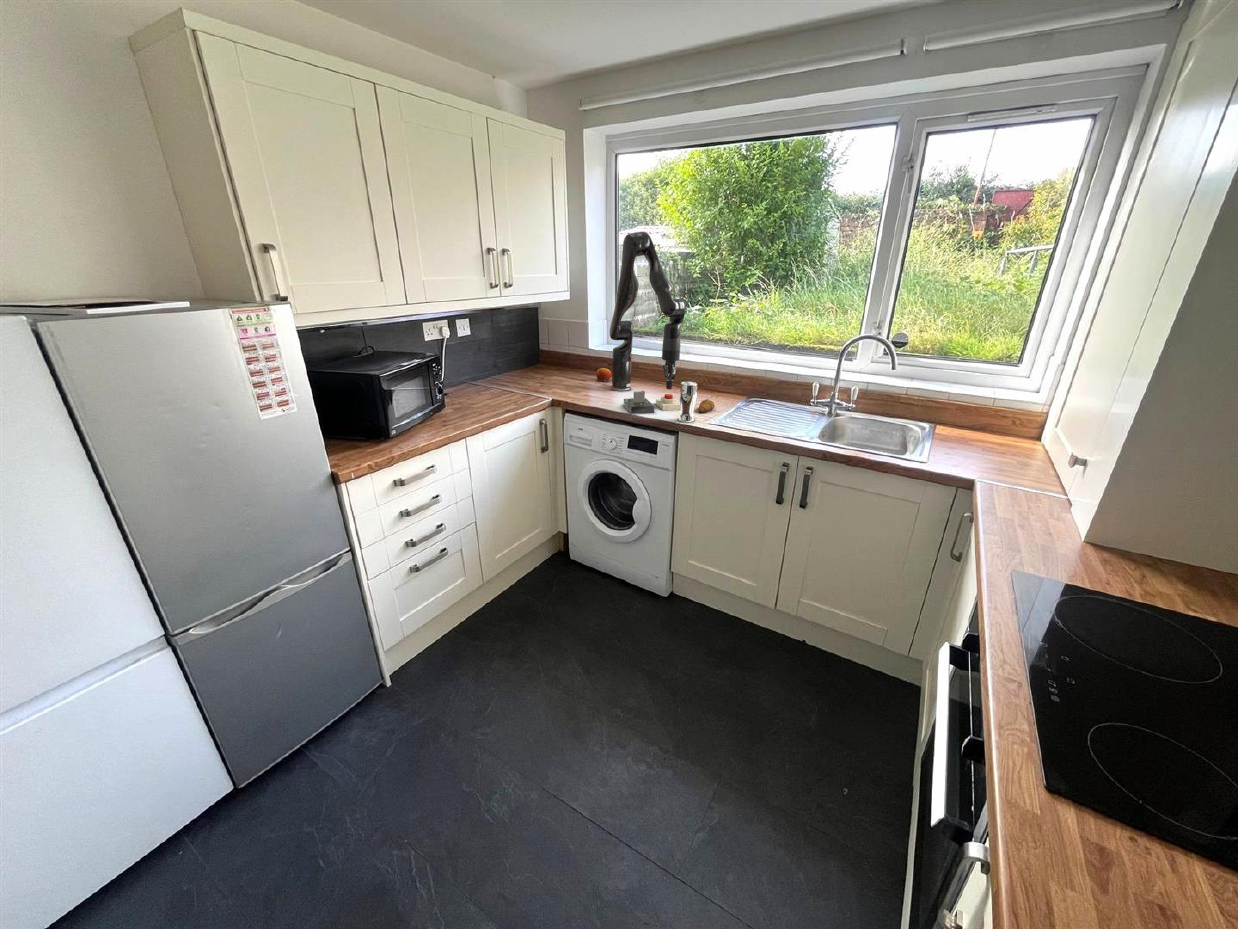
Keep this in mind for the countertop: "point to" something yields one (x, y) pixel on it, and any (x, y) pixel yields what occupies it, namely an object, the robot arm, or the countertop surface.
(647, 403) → the hob panel
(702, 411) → the brown lumpy oval piece
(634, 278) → the robot arm
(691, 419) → the beer glass
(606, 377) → the fruit
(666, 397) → the ignition button
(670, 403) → the ignition block
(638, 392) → the knob
